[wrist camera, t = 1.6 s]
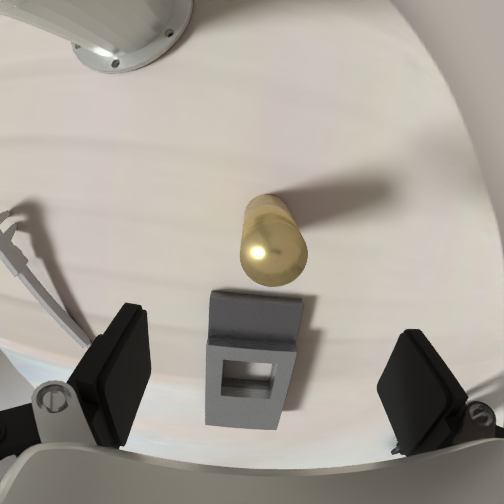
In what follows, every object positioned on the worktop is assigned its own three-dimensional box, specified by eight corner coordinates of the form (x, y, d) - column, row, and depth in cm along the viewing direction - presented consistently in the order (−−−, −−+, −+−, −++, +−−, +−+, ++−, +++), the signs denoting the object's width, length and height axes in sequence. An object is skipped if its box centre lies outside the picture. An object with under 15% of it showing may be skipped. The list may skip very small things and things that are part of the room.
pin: (246, 192, 26) (243, 219, 17) (291, 197, 27) (312, 227, 17) (242, 235, 28) (237, 283, 18) (285, 239, 28) (301, 289, 19)
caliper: (7, 213, 27) (-27, 228, 21) (11, 208, 27) (-24, 223, 21) (92, 348, 33) (72, 380, 27) (98, 346, 33) (77, 378, 27)
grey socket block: (211, 290, 30) (207, 305, 27) (301, 298, 30) (305, 314, 27) (207, 407, 36) (205, 424, 33) (275, 413, 36) (276, 429, 33)
